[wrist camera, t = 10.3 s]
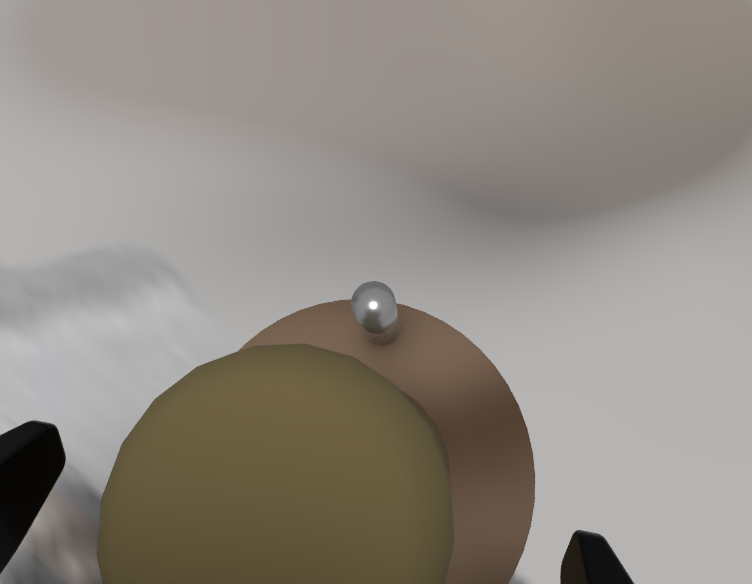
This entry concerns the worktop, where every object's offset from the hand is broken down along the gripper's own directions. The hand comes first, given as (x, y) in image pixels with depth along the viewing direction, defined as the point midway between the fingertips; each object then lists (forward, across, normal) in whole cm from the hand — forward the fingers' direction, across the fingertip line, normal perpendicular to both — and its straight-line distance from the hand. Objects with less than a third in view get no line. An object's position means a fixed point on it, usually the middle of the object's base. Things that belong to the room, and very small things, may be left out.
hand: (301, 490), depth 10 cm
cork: (+6, 0, +6) cm, 9 cm away
